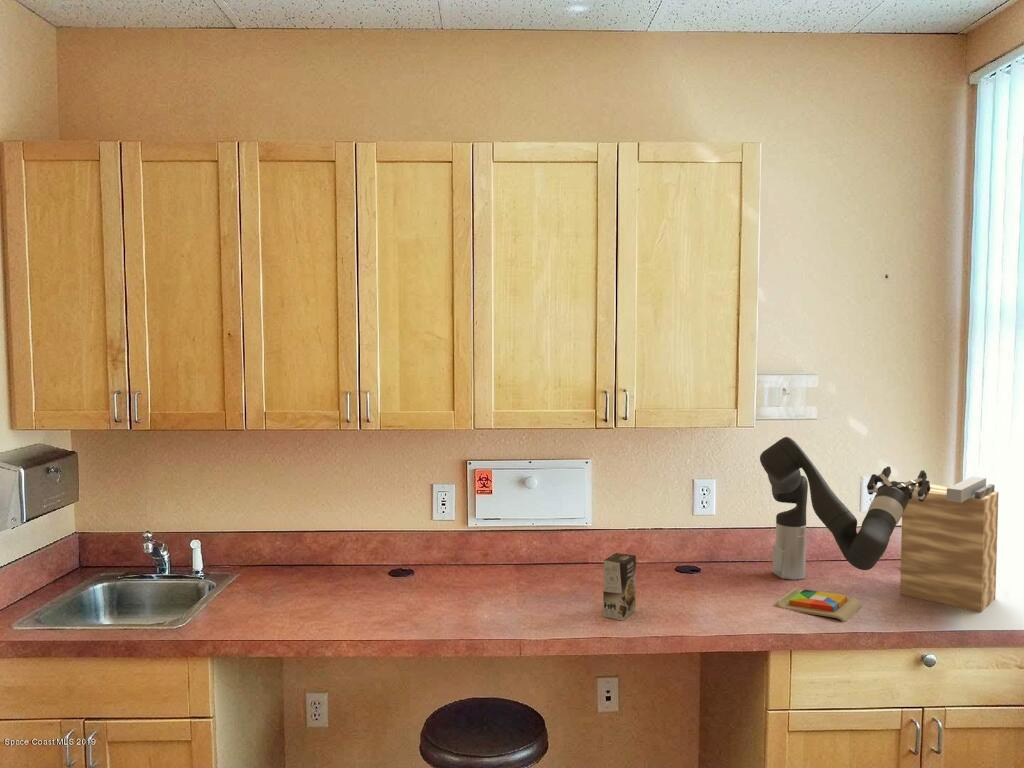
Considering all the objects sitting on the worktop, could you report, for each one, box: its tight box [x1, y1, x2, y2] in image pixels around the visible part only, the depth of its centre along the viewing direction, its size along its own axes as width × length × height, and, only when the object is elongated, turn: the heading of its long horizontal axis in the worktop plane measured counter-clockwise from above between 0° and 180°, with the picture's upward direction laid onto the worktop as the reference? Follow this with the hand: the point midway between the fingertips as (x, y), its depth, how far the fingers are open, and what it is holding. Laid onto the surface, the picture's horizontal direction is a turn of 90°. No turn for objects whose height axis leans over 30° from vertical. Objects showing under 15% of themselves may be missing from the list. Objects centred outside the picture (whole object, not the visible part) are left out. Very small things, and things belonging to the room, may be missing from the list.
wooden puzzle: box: [776, 587, 863, 623], centre depth 205 cm, size 18×19×4 cm
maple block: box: [899, 483, 999, 613], centre depth 212 cm, size 16×21×34 cm
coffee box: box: [602, 552, 637, 622], centre depth 198 cm, size 9×6×16 cm
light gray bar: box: [946, 476, 987, 503], centre depth 203 cm, size 26×4×4 cm, turn 134°
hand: (906, 470), depth 193 cm, fingers open, 8 cm apart
